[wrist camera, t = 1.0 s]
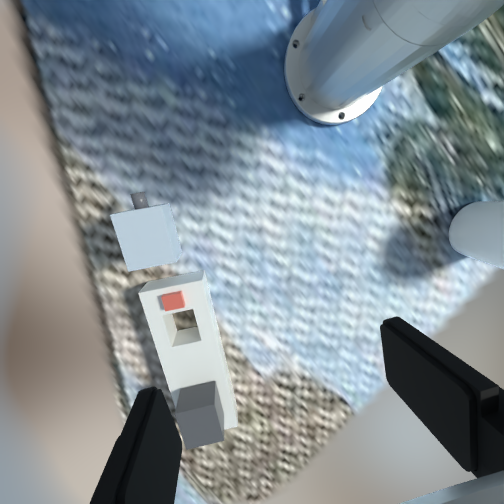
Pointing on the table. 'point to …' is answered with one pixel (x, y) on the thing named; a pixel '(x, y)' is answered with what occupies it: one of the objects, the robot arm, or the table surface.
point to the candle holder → (480, 232)
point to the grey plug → (147, 234)
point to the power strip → (188, 337)
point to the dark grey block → (200, 415)
